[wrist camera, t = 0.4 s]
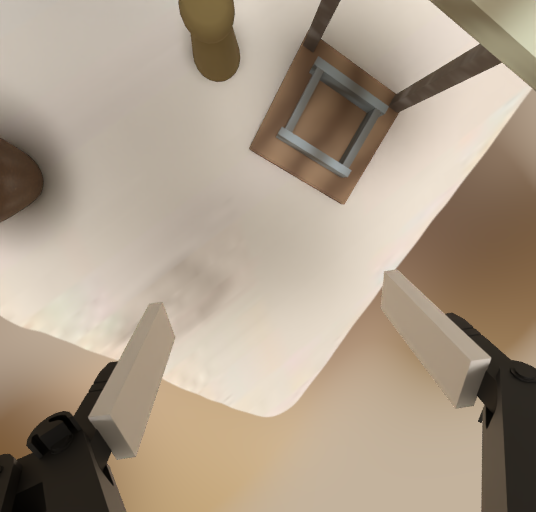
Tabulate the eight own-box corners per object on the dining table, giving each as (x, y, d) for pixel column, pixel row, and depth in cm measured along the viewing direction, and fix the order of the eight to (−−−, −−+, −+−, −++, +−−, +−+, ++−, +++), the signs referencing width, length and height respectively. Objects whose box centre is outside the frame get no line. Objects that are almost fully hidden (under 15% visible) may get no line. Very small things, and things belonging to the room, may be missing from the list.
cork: (232, 22, 33) (227, -55, 23) (245, 75, 35) (246, 26, 24) (186, 34, 33) (159, -38, 23) (201, 87, 35) (183, 43, 24)
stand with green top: (246, 147, 37) (251, 53, 11) (305, 28, 34) (508, -494, 8) (343, 205, 40) (527, 240, 14) (405, 102, 37) (780, -93, 11)
